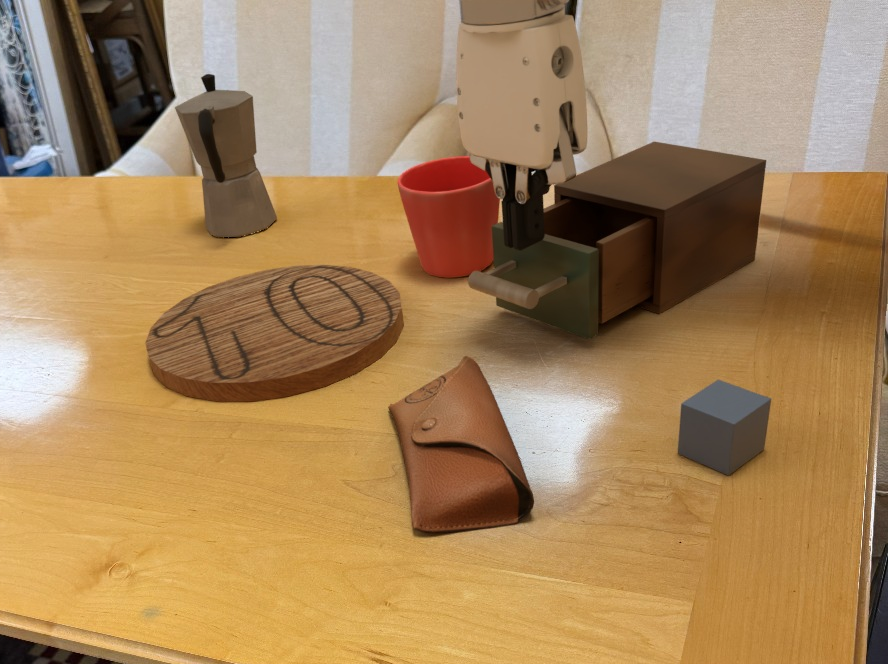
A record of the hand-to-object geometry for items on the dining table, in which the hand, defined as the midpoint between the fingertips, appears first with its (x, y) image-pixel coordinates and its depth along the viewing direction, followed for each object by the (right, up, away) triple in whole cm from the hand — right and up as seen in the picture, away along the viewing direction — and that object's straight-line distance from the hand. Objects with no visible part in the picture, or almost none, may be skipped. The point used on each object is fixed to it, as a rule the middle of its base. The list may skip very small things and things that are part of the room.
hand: (524, 242), depth 76 cm
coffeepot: (-30, +13, +39) cm, 51 cm away
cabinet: (+15, +1, +13) cm, 20 cm away
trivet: (-22, -6, +13) cm, 26 cm away
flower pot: (-4, +4, +21) cm, 22 cm away
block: (+12, -18, -12) cm, 25 cm away
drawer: (+6, -4, +8) cm, 10 cm away
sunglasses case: (-7, -19, -8) cm, 21 cm away
